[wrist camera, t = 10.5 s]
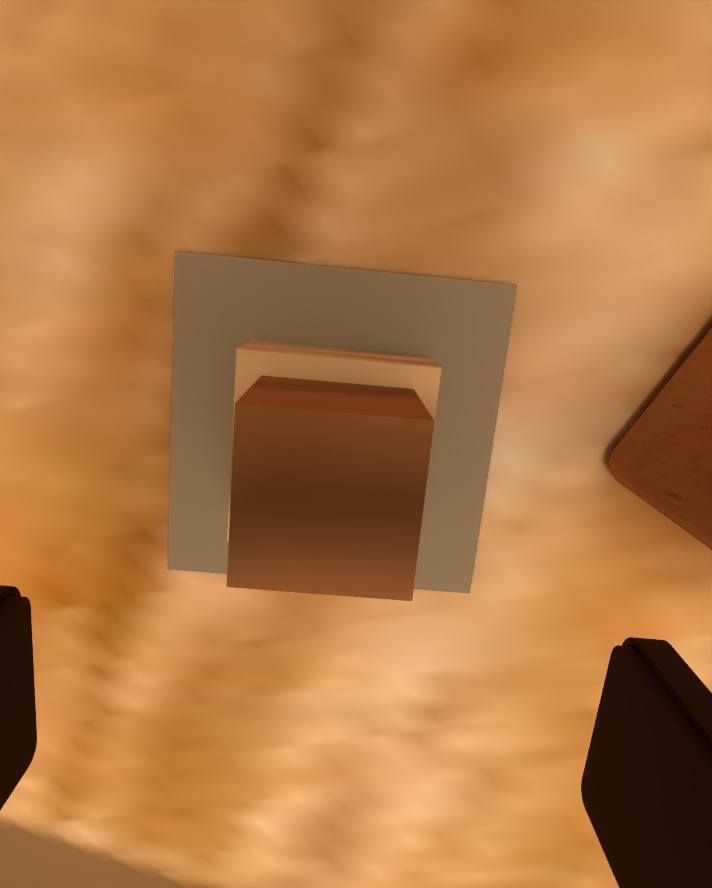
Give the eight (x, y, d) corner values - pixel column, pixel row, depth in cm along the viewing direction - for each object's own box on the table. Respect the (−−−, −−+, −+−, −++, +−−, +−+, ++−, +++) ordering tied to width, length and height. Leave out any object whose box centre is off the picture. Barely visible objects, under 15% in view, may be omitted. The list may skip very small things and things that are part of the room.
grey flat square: (179, 251, 28) (174, 250, 27) (512, 285, 28) (516, 284, 28) (171, 562, 32) (167, 568, 31) (466, 586, 32) (469, 593, 31)
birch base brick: (251, 339, 28) (236, 348, 24) (428, 356, 28) (441, 368, 25) (242, 508, 30) (227, 540, 26) (408, 521, 30) (417, 556, 26)
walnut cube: (261, 375, 25) (234, 403, 19) (413, 388, 25) (434, 420, 19) (253, 519, 26) (226, 586, 20) (397, 531, 26) (412, 600, 20)
